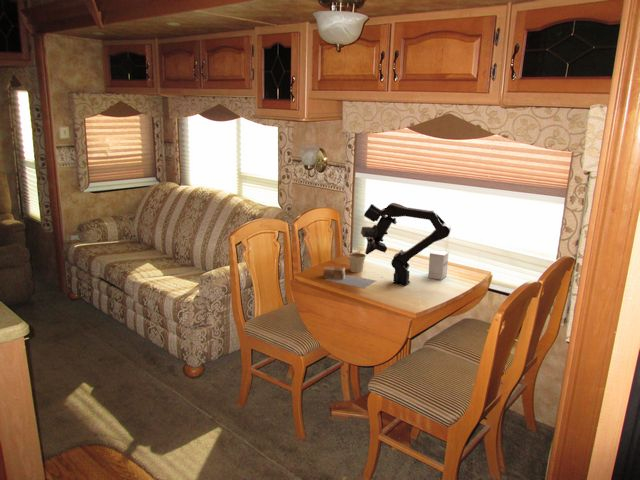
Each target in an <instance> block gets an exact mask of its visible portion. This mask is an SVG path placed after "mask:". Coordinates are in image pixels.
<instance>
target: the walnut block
mask: <svg viewBox="0 0 640 480" xmlns="http://www.w3.org/2000/svg"><path fill="white" fill-rule="evenodd" d="M345 274H346V267H339V266H338V267H336V266H324V268H323V274H322V275H323V276H322V277H323V279H327V278H330V279H343V280H344V278H345Z"/></svg>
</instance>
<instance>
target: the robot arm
mask: <svg viewBox="0 0 640 480" xmlns="http://www.w3.org/2000/svg"><path fill="white" fill-rule="evenodd" d="M363 216H364V218H367V220H370V221H371V222H377V224H374V225H373V226H372V227H371V226H362V227H361V230H360V234H361V236H362V237H363V238H365V239H366V240H367V244H366V248H365V252H364V254H365V255H369V254H371V253H372V252H374V251H375V250H377V251H380V252H383V253H386V252H387V250H388V247H387V245H386V244H385V243H383V242H384V237H385V236H386V235H388V230H389V229H390V226H391V225H393V224H394V225H396V224H397V222H398V221H397V218H401V217H409V218H413V219H421V220H428V221H430V223H431V225H432V226H433V228H434V230H433V231H432V232H431V233H430V234H429V235H428V236H426V237H424V238H423V239H422V240H420V241H419V242H417V243H416V244H415V245H413V246H412V247H411V248H409V249H407V250H406V251H403V249H400V251H399V252H397V253H395V254H394V256H393V258H392V259H391V262H390V264H391V267H392V268H393V269H394V273H393V281H392V284H394V285H397V286H398V285H400V286H404V287H406V286H407V285H409V284H410V283H411V281H410V270H409V268H410V266H411V265H410V264H409V263H408V262H409V261H410V260H411V259H412V258H413V257H415V256H416V255H418V254H419V253H421V252H422V251H424V250H425V249H426V248H428V247H429V246H431V245H432V244H434V243H436V242H438V241H441V240H443V239H445V238H448V237H449V235H450V233H451V230H452V228H451V226H450V224H449V223H446V222H445V221H444V220H443V218H442V217H441V216H440V215H439V214H438V212H437V211H435V210H428V209H420V208H413V207H408V206H407V207H406V206H404V205H402V204H400V203H396V202H392V203H390V204H388V205H387V206H386V207H383V208H382V209H380V208H379V207H377V206H376V205H374V203H371V204H370V206H369V207H368V208H367V210H365V212H364V214H363Z"/></svg>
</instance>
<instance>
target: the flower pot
mask: <svg viewBox="0 0 640 480" xmlns="http://www.w3.org/2000/svg"><path fill="white" fill-rule="evenodd" d="M347 257H348V261H349V263H348V264H349V269H350V270H349V271H350V272H351V273H362V272H363V269H364V266H365V265H364V263H365V259H366V257H367V254H365V253H360V252H352V253H351V252H350V253H348V254H347Z"/></svg>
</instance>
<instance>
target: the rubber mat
mask: <svg viewBox="0 0 640 480" xmlns="http://www.w3.org/2000/svg"><path fill="white" fill-rule="evenodd" d="M324 281H327V282H333V283H336V284H342V285H347V286H351V287H356V288H360V289H365V288H367V287H369V286H370V285H372V284H374V283H376V282H377V280H374V279H370V278H364V277H361V276H355V275H351V274H346V273H345V278H344V280H343V279H330V278H324Z"/></svg>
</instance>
